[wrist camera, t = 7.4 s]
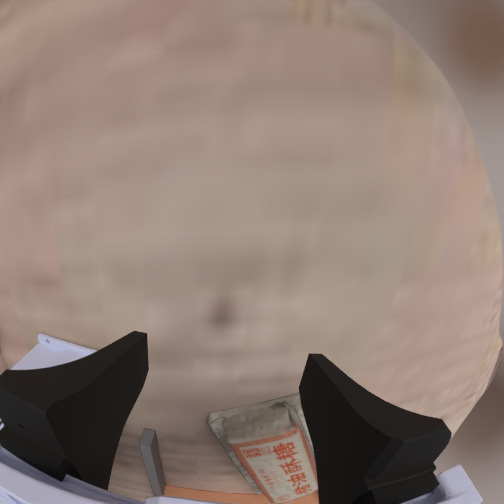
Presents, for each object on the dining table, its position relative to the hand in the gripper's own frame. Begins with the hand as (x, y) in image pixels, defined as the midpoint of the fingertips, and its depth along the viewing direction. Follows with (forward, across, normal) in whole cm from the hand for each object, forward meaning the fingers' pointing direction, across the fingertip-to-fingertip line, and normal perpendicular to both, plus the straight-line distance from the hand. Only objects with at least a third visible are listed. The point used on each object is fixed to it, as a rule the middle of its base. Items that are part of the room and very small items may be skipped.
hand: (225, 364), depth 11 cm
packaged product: (+10, -7, +19) cm, 23 cm away
